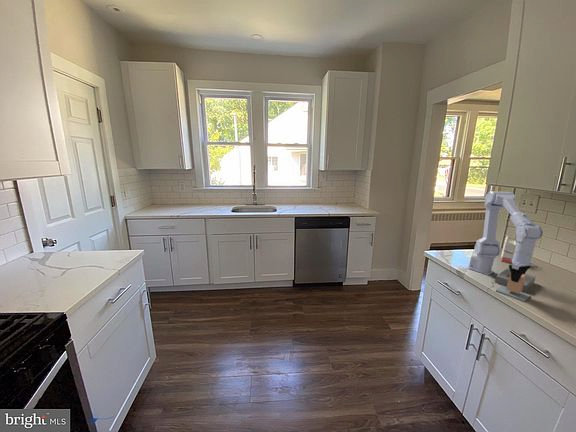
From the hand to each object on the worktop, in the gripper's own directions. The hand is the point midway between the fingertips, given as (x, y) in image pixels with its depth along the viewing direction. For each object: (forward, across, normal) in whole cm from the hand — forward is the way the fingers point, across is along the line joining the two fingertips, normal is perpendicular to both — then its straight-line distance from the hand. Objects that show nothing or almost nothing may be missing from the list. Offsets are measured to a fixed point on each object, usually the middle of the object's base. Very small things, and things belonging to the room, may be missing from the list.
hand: (516, 279), depth 110 cm
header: (+7, +14, +3) cm, 16 cm away
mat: (+7, 0, 0) cm, 7 cm away
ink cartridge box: (+7, +46, +15) cm, 49 cm away
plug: (+5, 0, 0) cm, 5 cm away
